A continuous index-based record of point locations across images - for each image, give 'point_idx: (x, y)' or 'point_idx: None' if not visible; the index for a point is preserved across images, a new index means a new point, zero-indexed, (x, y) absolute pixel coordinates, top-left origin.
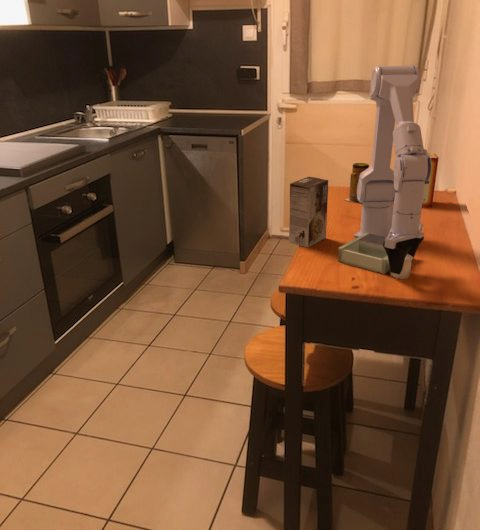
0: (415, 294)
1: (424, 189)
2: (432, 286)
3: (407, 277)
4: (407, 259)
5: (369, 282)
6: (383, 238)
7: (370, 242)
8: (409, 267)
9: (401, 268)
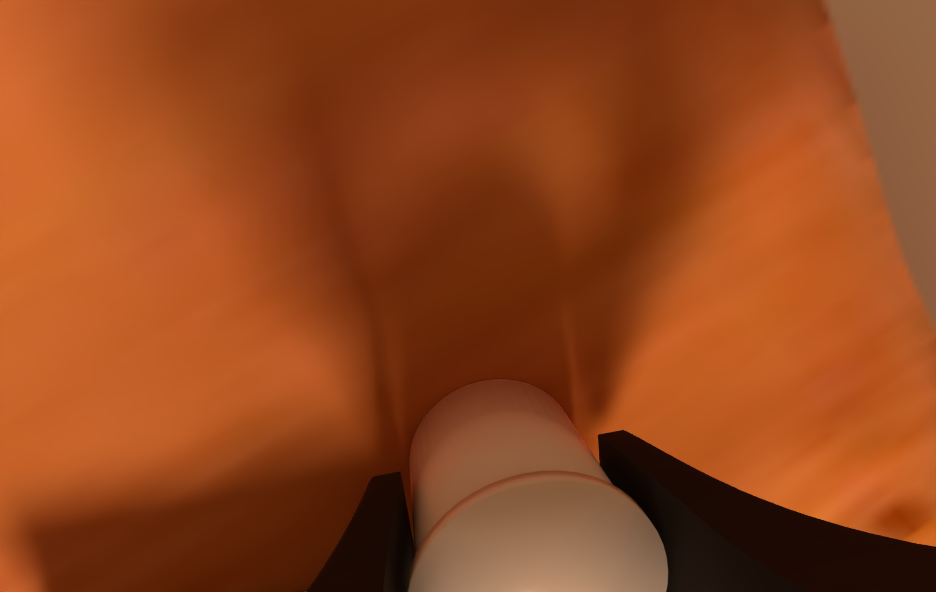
0: (761, 143)
1: None
2: (504, 120)
3: (509, 381)
4: (580, 508)
5: None
6: None
7: None
8: (517, 431)
9: (653, 451)
